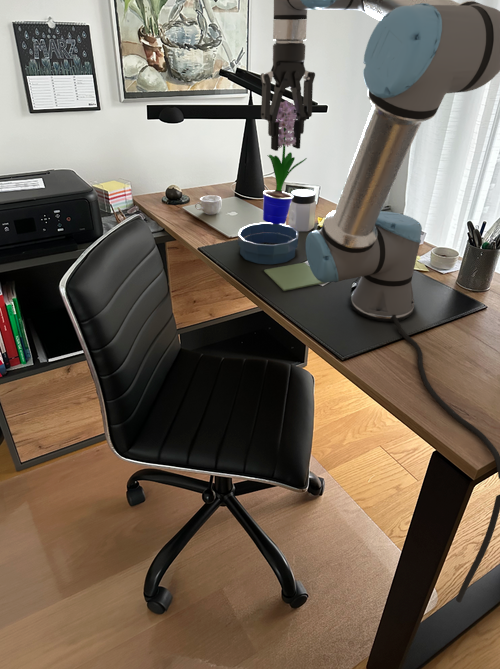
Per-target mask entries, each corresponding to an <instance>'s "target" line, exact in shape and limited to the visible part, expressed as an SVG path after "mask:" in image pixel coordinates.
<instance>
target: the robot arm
mask: <svg viewBox="0 0 500 669" xmlns="http://www.w3.org/2000/svg"><path fill="white" fill-rule="evenodd" d="M309 10H313V11H317V10H319V11H321V10H327V11H329V10H330V11H331V10H332V11H333V10H334V11H337V10H342V11H360V12H363V13H364V14H366V15H368V16H369V17H372V18H374V19H376V20H377V21H378V23H377V24H376V25H375V27H374V29H373V30H372V32H371V34H370V37H369V38H368V41H367V43H366V47H365V51H364V53H363V54H364V55H363V64H364V65H365V67H364V68H363V70H362V74H363V80H364V84H365V86H366V88H367V98H368V100H369V102H370V103H371V105H372V107H371V110H370V112H369V115H368V117H367V121H366V124H365V126H364V129H363V132H362V135H361V138H360V140H359V143H358V146H357V149H356V152H355V153H354V157H353V160H352V163H351V165H350V168H349V171H348V174H347V176H346V179H345V182H344V185H343V188H342V190H341V193H340V196H339V199H338V203H337V204H336V208H335V210H332V211H331V212H329V213H328V214H327V215H326V216H325V217H324V220H323V223H322V224H321V228H320V229H318V230H317V229H314V230H313V231H309V232H308V234H307V236H306V239H305V255H306V260H307V265H308V266H309V267H310V269H311V271H312V273H313V275H314V276H315V277H316V278H317V279H318V280H319V281H321V282H324V283H323V284H327V283H338V282H341V281H346V280H350V279H352V280H353V279H356V278H360V279H359V281H358V282H357V284H356V287H355V289H354V290H353V292H352V294H351V296H350V297H351V298H350V307H351V309H353V311H354V312H355V313H357V314H358V315H360V316H361V317H363V318H365V319H369V320H372V321H376V322H384V323H385V322H386V323H394V324H395V327H396V329H397V331H398V333H399V334H400V335H401V337H402V338H403V339H404V340H406V341H407V342H408V343H409V344H410V345H411V346H413V348H414V350H415V351H416V353H417V354H416V355H417V367H418V368H417V369H418V371H419V375H420V378H421V381H422V382H423V384H424V386H425V388H426V390H427V392H428V393H429V394H430V395H431V397H432V398H433V399H434V401H435V402H436V403H437V404H438V405H439V406H440V407H441V409H443V410H444V411H445V412H446V413H447V414H448V415H450V417H452V418H453V419H454V420H455V421H456V422H457V423H459V424H460V425H461V426H463V427H464V428H466V429H467V430H469V431H470V432H471V433H472V434H474V435H475V436H476V437H477V438H478V439H479V440H480V441H481V442H482V443H483V444H484V445H485V447H486V448H487V449H488V450H489V452H490V453H491V454H492V456H493V459H494V462H495V465H496V471H497V477H498V479H499V480H500V452H499V451H498V449H497V448H496V446H494V444H493V443H492V442H491V441H490V439H489V438H488V437H487V436H486V435H485V434H484V433H483V432H482V431H481V430H480V429H478V428H477V427H476V426H474V425H473V424H472V423H470V422H468V421H467V420H466V419H464V418H463V417H462V416H461V415H459V413H457V412H456V411H455V410H453V408H451V406H449V405H448V404H447V403H446V402H445V401H444V400H443V399H442V398H441V397H440V395H438V393H437V392H436V391H435V389H434V388H433V387H432V385H431V384H430V382H429V380H428V377H427V374H426V372H425V368H424V362H423V360H424V359H423V358H424V357H423V356H424V355H423V351H422V348H421V347H420V345H419V344H418V343H417V342H416V341H415V340H414V339H413V338H412V337H410V336H409V334H407V333H406V331H404V329H403V327H402V326H401V324H400V321H404V320H406V319H408V318H409V317H411V316H412V314H413V313H414V309H415V299H414V292H413V291H414V290H413V284H412V282H413V281H412V280H413V275H414V270H415V266H416V262H417V259H418V258H417V257H418V254H419V249H420V244H421V242H422V240H421V237H422V230H423V227H422V224H421V223H420V222H419V220H417V219H416V218H414V217H411V216H408V215H406V214H402V213H399V212H394V211H384V210H383V208H384V206H385V204H386V201H387V199H388V198H389V195H390V193H391V190H392V189H393V186H394V184H395V182H396V180H397V177H398V175H399V173H400V171H401V168H402V166H403V164H404V162H405V160H406V158H407V155H408V153H409V152H410V149H411V146H412V144H413V142H414V140H415V138H416V136H417V133H418V132H419V129H420V127H421V124H422V123H423V122H425V121H428V120H431V119H432V118H433V117H436V114H437V113H438V110H439V108H440V106H441V104H442V102H443V100H444V98H445V95H446V94H453V93H454V94H457V93H467V92H470V91H474V90H477V89H479V88H481V87H483V86H485V85H487V83H489V82H491V81H492V80H493V79H494V78H495V77H496V76H497V75H498V74H499V73H500V10H498V9H497V8H495V7H492V6H488V5H485V4H482V3H480V2H477V1H473V0H468V1H463V2H461V3H459V2H457V1H454V0H273V20H272V21H273V23H272V32H273V33H272V40H273V41H275V43H273V44H272V67H271V68H270V71H268V72H262V73H260V76H259V78H260V81H261V85H262V86H261V104H260V105H261V106H260V107H261V108H260V118H261V119H262V120H265V121H267V122H268V124H267V134H268V136H270V149H271V150H273V151H275V152H278V151H279V148H278V138H279V129H280V128H279V123H278V122H276V120H277V115H278V111H279V107H280V103H281V102H282V99H283V95H284V93H285V92H286V89H288V88H289V89H290V92H291V95H292V100H293V106H295V109H296V110H295V109H294V112H295V113H296V114H295V115H297V117H296V120H295V119H294V120H295V122H294V125H293V126H294V128H293V130H294V139H295V137H296V142H295V144H296V145H295V144H293V146H292V148H295V149H298V150H299V149H301V140H302V139H301V138H302V136H301V135H303V134H304V130H305V121H307V119H308V118H311V117H312V116H313V90H314V87H313V86H314V81H315V77H316V73H315V72H314V71H309V70H307V69H306V67H305V60H306V44H305V43H304V41H306V40H307V24H308V23H307V20H308V11H309ZM273 79H274V81H275V83H274V88H273V95H272V81H273ZM302 79H303V92H302V86H301V81H302ZM302 93H303V94H302ZM271 96H272V98H271ZM499 515H500V494H497V495H495V500H494V504H493V508H492V512H491V516H490V518H489V523H488V526H487V529H486V532H485V535H484V538H483V540H482V543H481V545H480V547H479V550H478V551H477V554H476V556H475V558H474V560H473V562H472V564H471V566H470V568H469V570H468V571H467V574H466V575H465V578H464V580H463V582H462V584H461V586H460V588H459V591H458V593H457V596H456V598H455V601H456V603H462V600H463V599H464V596H465V594H466V593H467V590H468V588H469V586H470V584H471V582H472V580H473V578H474V576H475V575H476V573H477V570H478V569H479V567H480V564H481V563H482V561H483V559H484V558H485V557H484V556H485V555H486V552H487V550H488V548H489V545H490V542H491V540H492V538H493V535H494V533H495V532H494V531H495V529H496V526H497V523H498V519H499Z"/></svg>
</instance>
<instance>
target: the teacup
mask: <svg viewBox="0 0 500 669" xmlns="http://www.w3.org/2000/svg"><path fill="white" fill-rule="evenodd" d="M197 205H199V206H200V208H198V206H197ZM194 208H195V209H196V210H198V211H202V212H203V213H204V214H206V215H209V216H212V215H217V214H218V213H219V212H220V211H221V209H222V197H221V196H220V195H214V194H212V195H211V194H208V195H204V196H201V197H199V202H198V201H197V202H196V203H195V204H194Z"/></svg>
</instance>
